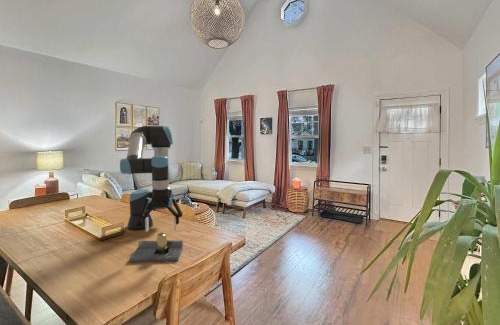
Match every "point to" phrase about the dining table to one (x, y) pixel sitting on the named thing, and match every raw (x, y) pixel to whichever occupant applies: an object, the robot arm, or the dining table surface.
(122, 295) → the dining table surface
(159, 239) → the cylinder
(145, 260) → the plate
